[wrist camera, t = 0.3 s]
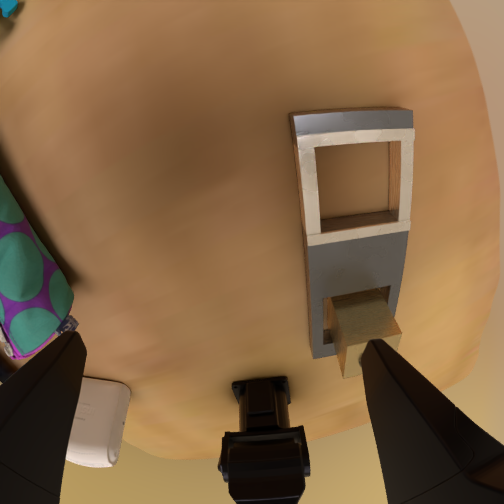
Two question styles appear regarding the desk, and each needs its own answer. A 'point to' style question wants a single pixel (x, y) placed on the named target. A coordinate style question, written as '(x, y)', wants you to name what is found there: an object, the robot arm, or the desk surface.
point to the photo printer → (98, 423)
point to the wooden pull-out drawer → (359, 326)
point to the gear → (8, 7)
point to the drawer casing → (357, 226)
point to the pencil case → (28, 285)
